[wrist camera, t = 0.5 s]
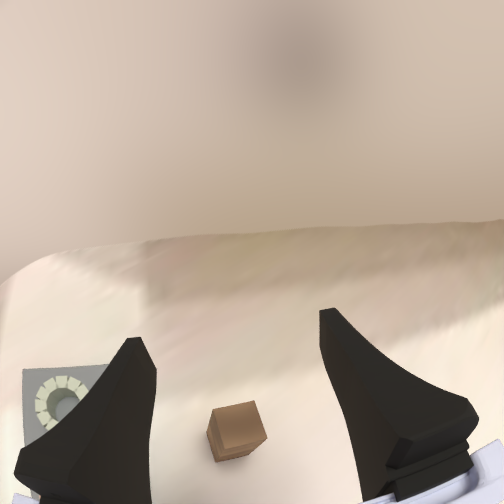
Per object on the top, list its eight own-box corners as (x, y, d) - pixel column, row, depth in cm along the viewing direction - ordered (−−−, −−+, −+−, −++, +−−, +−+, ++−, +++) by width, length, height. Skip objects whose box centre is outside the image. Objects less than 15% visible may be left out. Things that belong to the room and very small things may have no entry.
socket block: (163, 556, 17) (160, 562, 15) (50, 556, 13) (35, 559, 11) (120, 367, 30) (114, 351, 28) (26, 372, 26) (13, 358, 24)
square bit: (248, 454, 26) (267, 438, 21) (215, 462, 25) (224, 448, 20) (238, 425, 28) (254, 400, 23) (206, 432, 27) (212, 409, 22)
